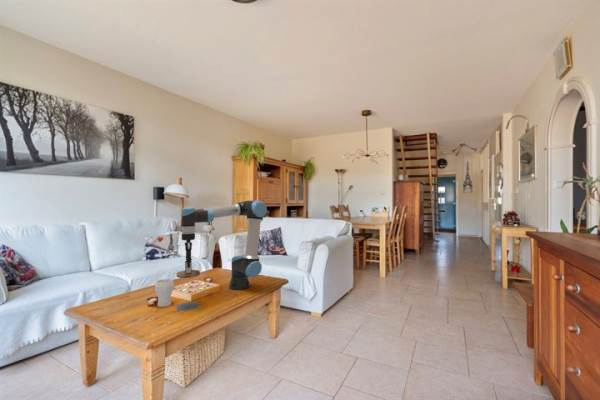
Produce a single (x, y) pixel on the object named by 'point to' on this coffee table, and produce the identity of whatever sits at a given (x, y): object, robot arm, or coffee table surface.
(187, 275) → the lid
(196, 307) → the mat
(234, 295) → the coffee table surface
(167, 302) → the cup
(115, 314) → the coffee table surface
